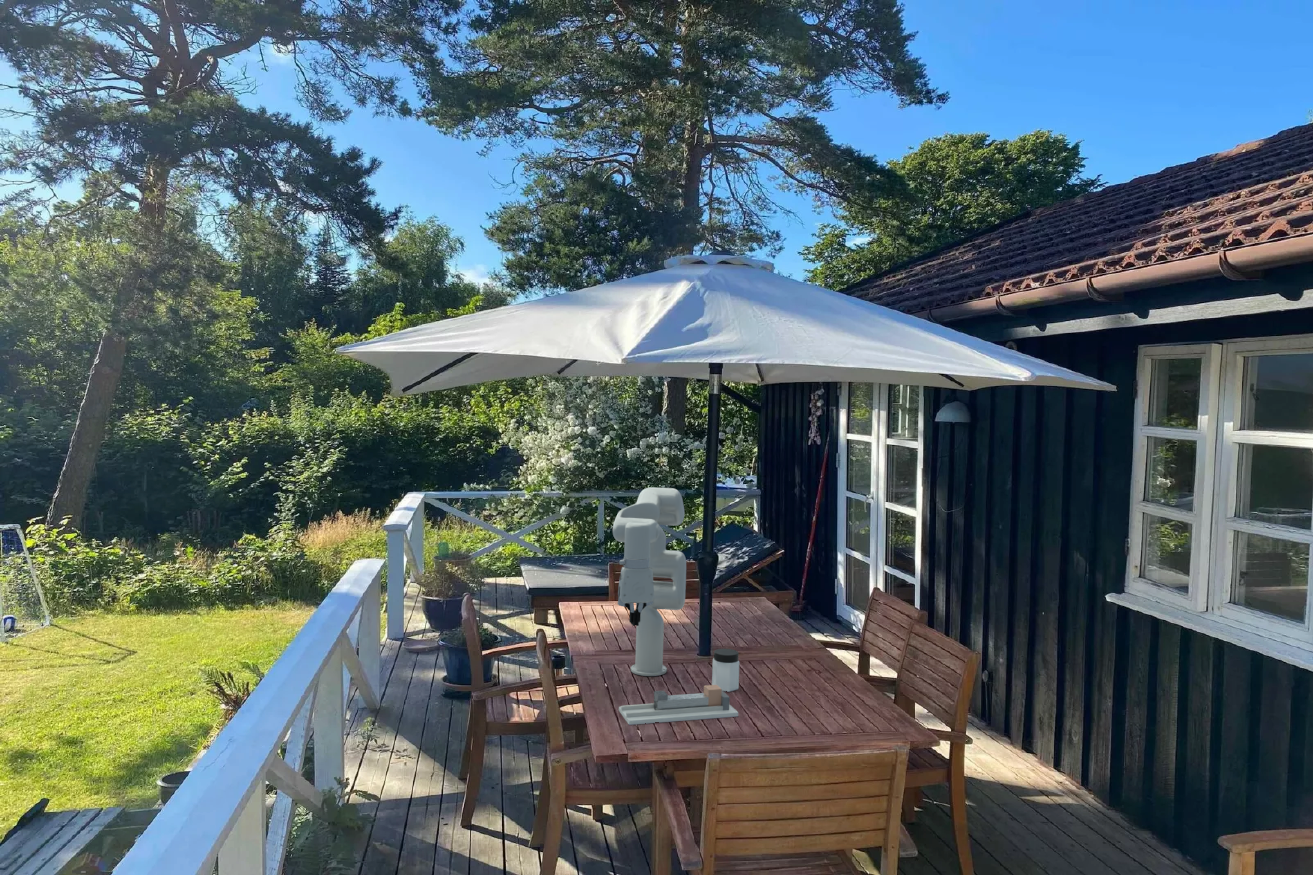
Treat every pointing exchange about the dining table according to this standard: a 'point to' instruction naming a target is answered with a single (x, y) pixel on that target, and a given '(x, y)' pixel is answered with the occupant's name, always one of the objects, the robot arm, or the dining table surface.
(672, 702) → the grey sliding carriage block
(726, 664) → the jar
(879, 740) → the dining table surface
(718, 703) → the block
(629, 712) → the grey slide rail track
